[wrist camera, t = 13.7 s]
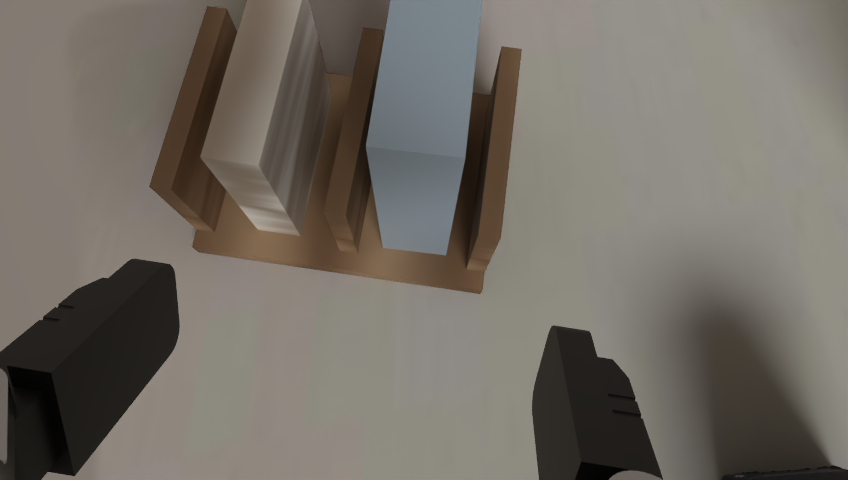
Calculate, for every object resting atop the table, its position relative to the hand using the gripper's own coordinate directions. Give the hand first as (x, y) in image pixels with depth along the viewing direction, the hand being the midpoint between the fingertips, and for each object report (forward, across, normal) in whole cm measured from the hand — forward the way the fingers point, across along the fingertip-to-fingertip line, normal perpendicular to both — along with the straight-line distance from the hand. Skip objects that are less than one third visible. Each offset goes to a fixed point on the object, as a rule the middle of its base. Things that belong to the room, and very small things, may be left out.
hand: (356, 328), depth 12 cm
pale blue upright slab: (+21, 0, +5) cm, 21 cm away
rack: (+22, +4, +5) cm, 23 cm away
